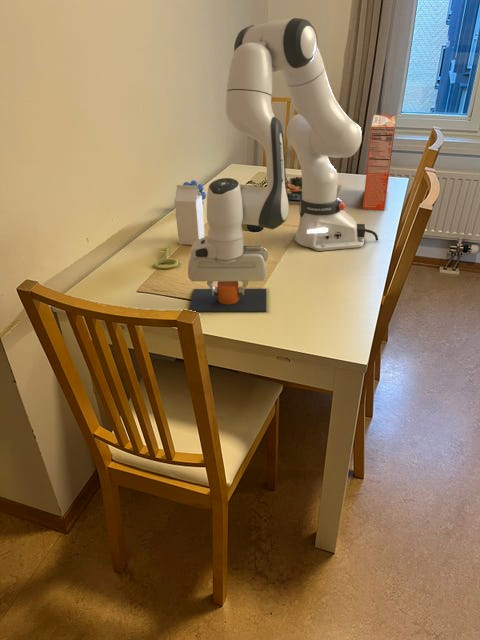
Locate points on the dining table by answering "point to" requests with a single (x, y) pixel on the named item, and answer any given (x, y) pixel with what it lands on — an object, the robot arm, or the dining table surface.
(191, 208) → the milk carton
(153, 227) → the dining table surface
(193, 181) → the grapes
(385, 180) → the red cereal box
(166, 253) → the key
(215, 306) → the mat
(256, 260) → the robot arm
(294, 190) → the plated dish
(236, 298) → the cylinder
